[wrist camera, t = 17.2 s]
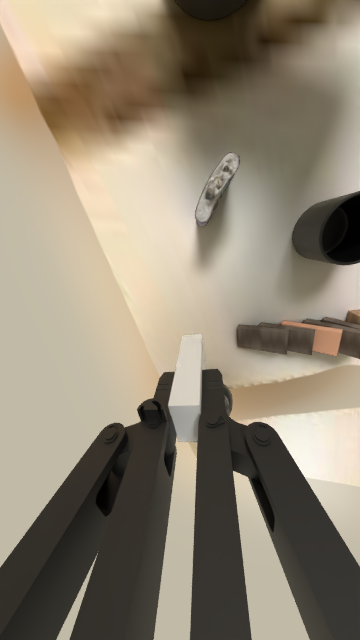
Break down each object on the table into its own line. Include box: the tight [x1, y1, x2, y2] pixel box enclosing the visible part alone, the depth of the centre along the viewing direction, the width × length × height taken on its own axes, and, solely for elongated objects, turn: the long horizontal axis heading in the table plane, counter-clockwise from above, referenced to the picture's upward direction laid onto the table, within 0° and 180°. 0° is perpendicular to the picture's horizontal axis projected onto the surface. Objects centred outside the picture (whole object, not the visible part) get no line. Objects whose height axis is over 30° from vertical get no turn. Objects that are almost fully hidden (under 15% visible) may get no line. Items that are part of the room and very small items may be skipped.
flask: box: [195, 152, 240, 226], centre depth 29 cm, size 9×3×11 cm, turn 150°
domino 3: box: [281, 321, 343, 356], centre depth 39 cm, size 5×2×10 cm
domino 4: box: [322, 317, 360, 330], centre depth 36 cm, size 5×2×10 cm
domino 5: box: [303, 319, 360, 359], centre depth 37 cm, size 5×2×10 cm
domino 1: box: [237, 325, 289, 354], centre depth 41 cm, size 5×2×10 cm
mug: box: [293, 191, 360, 265], centre depth 29 cm, size 9×12×9 cm
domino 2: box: [259, 323, 315, 355], centre depth 40 cm, size 5×2×10 cm
